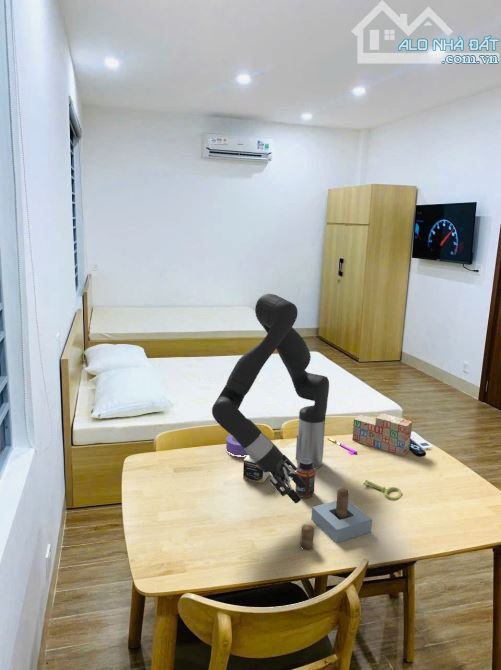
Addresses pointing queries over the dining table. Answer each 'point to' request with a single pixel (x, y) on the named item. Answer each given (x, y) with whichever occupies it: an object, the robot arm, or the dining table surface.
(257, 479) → the medicine bottle
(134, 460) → the dining table surface
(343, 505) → the walnut pin tall
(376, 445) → the stack of blocks
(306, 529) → the walnut pin short
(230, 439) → the tape roll
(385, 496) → the key
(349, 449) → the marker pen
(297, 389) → the robot arm
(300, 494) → the supplement bottle
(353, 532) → the collar block
